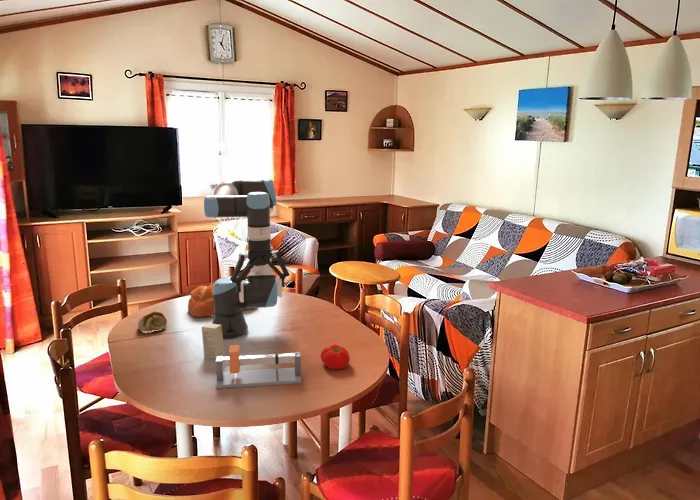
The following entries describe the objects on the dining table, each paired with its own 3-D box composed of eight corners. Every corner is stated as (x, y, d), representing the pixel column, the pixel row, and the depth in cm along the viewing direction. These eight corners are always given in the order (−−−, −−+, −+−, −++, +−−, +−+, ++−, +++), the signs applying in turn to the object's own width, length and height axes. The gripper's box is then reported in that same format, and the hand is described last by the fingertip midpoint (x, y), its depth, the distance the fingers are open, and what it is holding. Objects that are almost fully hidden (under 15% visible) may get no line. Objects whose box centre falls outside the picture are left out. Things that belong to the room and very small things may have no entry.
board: (216, 388, 177) (216, 385, 177) (218, 374, 187) (218, 371, 187) (301, 382, 182) (301, 379, 181) (299, 369, 191) (299, 367, 191)
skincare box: (224, 355, 203) (222, 324, 200) (217, 359, 199) (216, 328, 196) (209, 353, 205) (207, 322, 202) (202, 357, 201) (201, 326, 198)
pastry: (150, 336, 221) (149, 317, 219) (130, 330, 227) (128, 312, 225) (177, 325, 233) (175, 308, 231) (156, 320, 239) (155, 303, 237)
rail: (216, 381, 180) (215, 360, 178) (217, 376, 184) (216, 355, 182) (301, 376, 184) (300, 355, 183) (300, 371, 188) (299, 351, 186)
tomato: (328, 373, 189) (328, 356, 187) (317, 361, 198) (317, 344, 197) (353, 369, 192) (354, 352, 191) (342, 357, 202) (342, 341, 201)
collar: (230, 373, 179) (229, 352, 177) (231, 365, 185) (230, 345, 183) (239, 373, 179) (238, 351, 178) (239, 365, 185) (239, 344, 184)
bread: (185, 310, 253) (184, 283, 250) (249, 299, 269) (248, 274, 266) (195, 320, 240) (193, 292, 237) (261, 308, 256) (260, 281, 253)
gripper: (225, 243, 174) (227, 306, 178) (297, 237, 184) (298, 297, 189) (219, 239, 180) (222, 300, 185) (290, 233, 191) (291, 291, 196)
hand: (261, 298), depth 187 cm, fingers open, 13 cm apart
